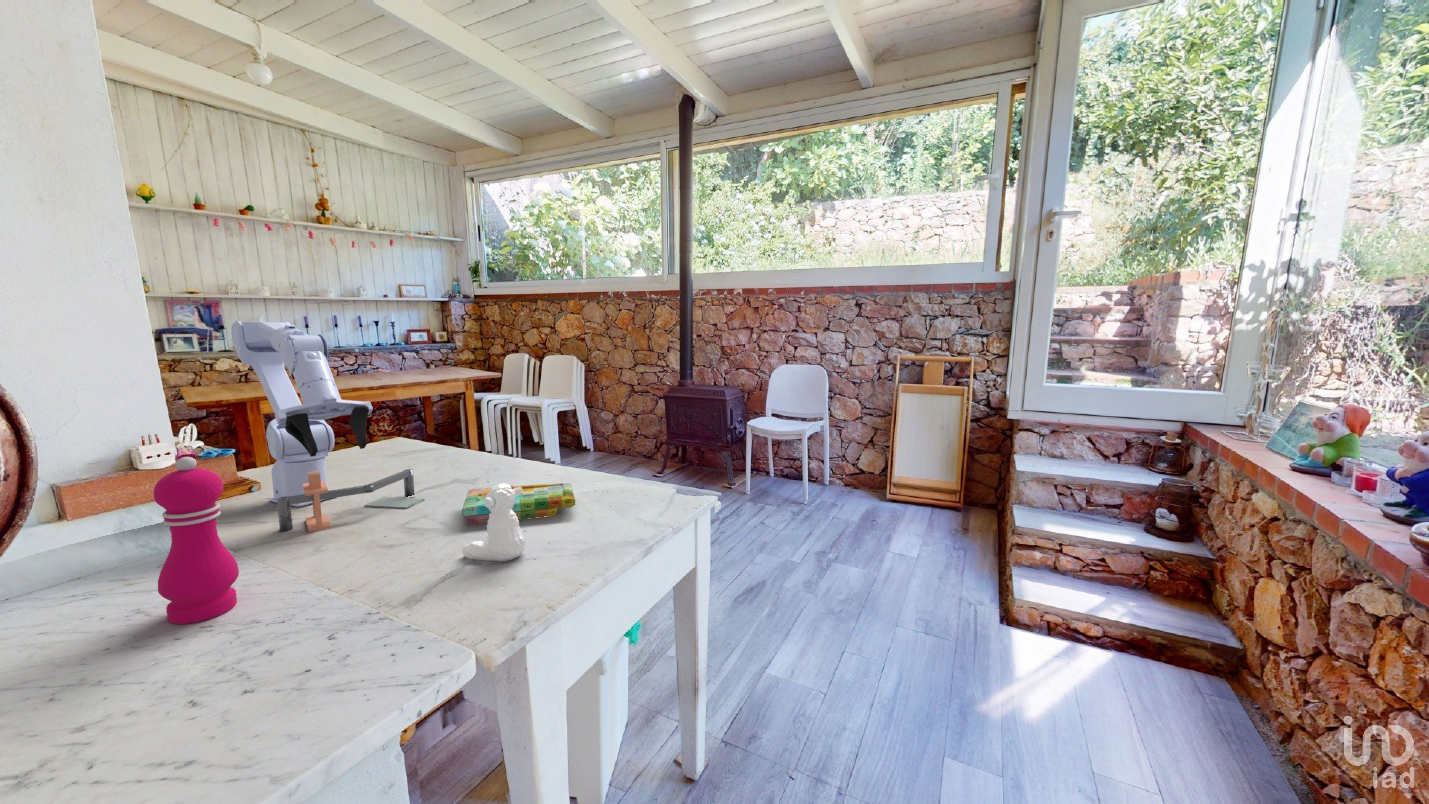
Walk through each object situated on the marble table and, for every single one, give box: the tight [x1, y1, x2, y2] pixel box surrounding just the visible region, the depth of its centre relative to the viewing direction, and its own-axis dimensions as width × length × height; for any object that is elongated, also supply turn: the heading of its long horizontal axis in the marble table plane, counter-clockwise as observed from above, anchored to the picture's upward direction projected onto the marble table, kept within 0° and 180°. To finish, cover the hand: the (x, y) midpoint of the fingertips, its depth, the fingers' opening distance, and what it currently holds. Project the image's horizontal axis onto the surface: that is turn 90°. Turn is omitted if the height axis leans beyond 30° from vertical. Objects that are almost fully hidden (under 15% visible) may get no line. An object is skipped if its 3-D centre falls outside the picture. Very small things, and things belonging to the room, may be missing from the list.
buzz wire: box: [276, 468, 415, 533], centre depth 101 cm, size 8×24×6 cm, turn 160°
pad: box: [364, 496, 424, 510], centre depth 107 cm, size 6×9×1 cm, turn 85°
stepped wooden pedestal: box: [303, 471, 332, 533], centre depth 94 cm, size 3×7×10 cm, turn 41°
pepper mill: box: [152, 456, 240, 625], centre depth 64 cm, size 7×7×20 cm
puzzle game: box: [461, 482, 576, 525], centre depth 103 cm, size 12×5×20 cm
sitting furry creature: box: [461, 482, 526, 563], centre depth 83 cm, size 10×9×12 cm
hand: (339, 449), depth 94 cm, fingers open, 7 cm apart
